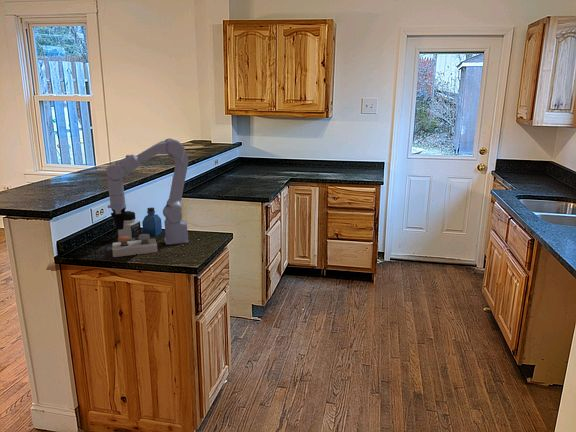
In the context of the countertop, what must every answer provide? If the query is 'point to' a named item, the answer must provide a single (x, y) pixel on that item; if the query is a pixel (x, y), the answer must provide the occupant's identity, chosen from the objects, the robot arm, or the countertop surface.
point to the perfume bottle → (152, 223)
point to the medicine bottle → (130, 226)
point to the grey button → (144, 238)
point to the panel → (134, 248)
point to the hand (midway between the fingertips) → (120, 226)
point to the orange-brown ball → (123, 240)
